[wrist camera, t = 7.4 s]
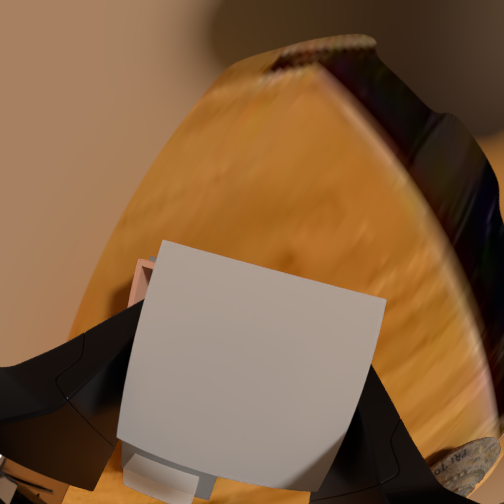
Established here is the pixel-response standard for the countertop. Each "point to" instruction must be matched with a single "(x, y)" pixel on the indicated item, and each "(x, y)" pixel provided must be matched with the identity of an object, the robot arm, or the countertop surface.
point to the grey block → (246, 369)
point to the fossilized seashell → (466, 465)
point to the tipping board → (151, 466)
